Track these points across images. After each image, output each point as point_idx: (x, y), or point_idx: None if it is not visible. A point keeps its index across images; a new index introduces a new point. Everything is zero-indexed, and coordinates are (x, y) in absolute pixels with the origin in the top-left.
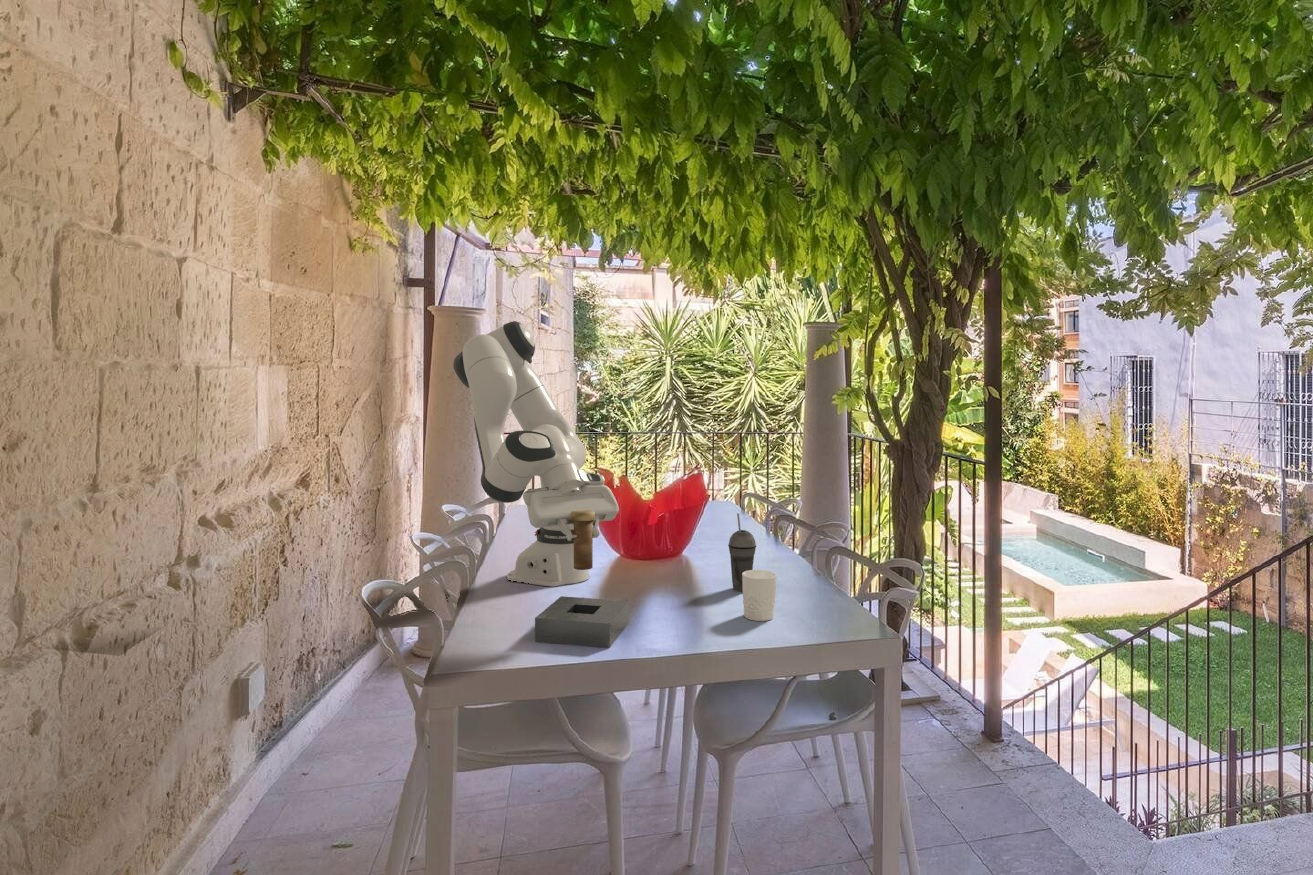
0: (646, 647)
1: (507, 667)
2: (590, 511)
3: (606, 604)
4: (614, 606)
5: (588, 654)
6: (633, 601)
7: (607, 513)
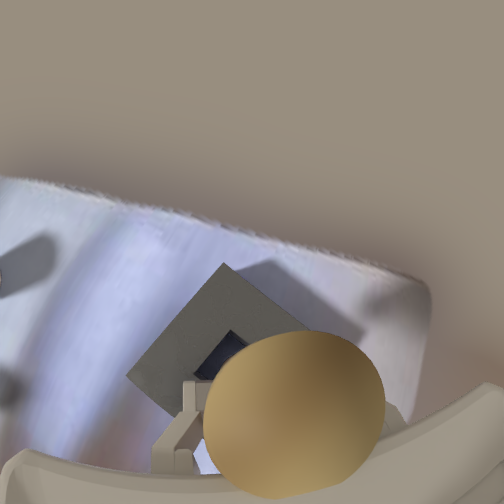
0: (169, 251)
1: (372, 270)
2: (238, 425)
3: (178, 378)
4: (168, 357)
5: (263, 265)
6: (91, 463)
7: (83, 464)
